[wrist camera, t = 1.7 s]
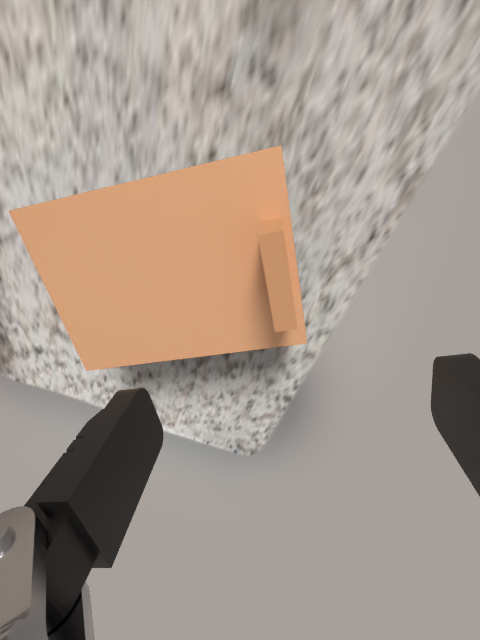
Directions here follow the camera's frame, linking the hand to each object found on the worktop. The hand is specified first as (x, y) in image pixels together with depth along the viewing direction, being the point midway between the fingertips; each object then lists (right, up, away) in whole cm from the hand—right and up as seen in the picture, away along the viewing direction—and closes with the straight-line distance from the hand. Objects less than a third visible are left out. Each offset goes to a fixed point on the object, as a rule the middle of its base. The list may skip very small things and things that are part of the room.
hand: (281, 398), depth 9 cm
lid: (-7, +6, +16) cm, 19 cm away
